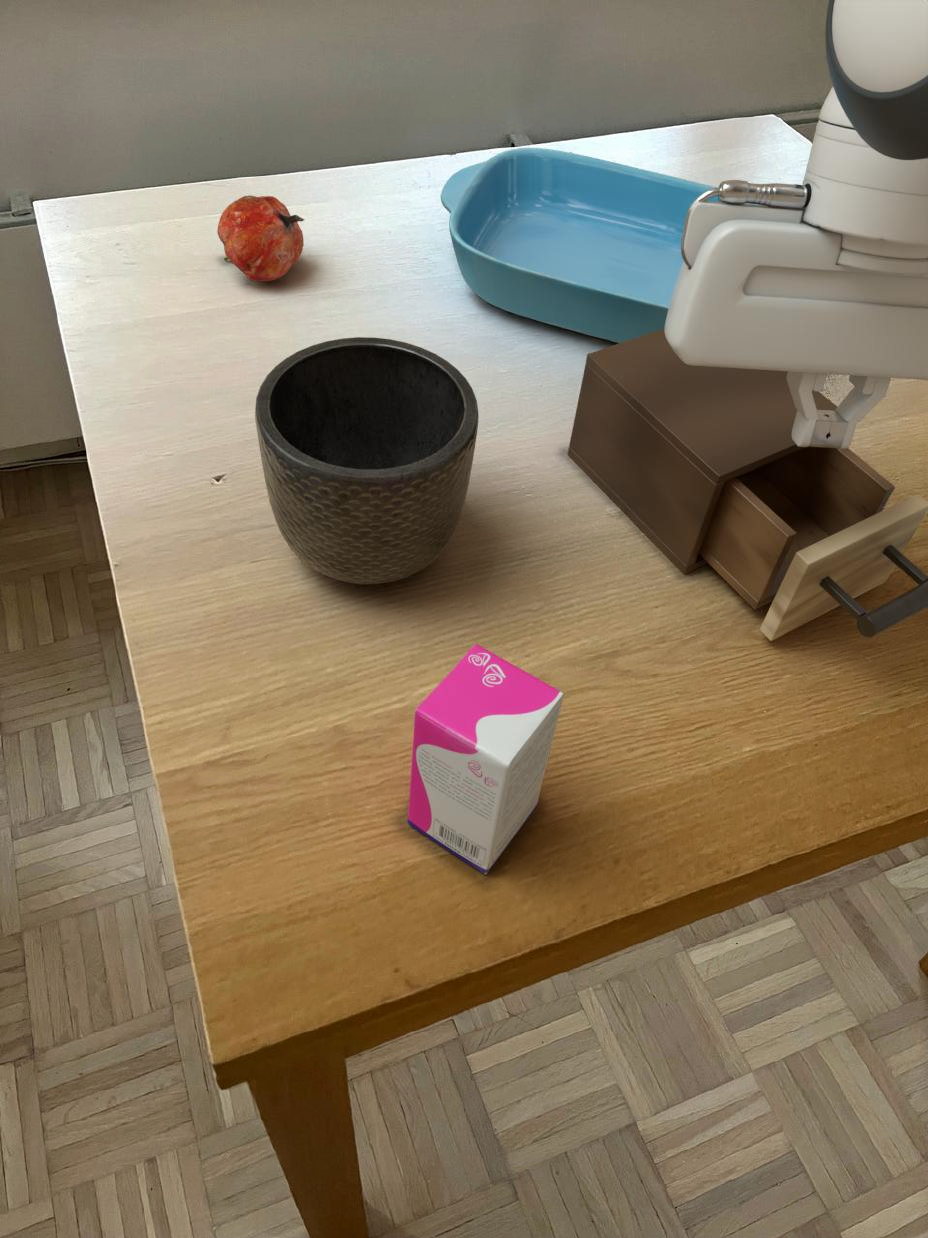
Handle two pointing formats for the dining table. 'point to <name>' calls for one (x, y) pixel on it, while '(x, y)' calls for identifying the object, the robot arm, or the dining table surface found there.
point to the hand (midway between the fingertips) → (818, 444)
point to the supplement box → (480, 756)
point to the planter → (366, 455)
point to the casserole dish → (571, 239)
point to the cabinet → (676, 436)
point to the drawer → (815, 540)
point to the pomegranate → (260, 237)
